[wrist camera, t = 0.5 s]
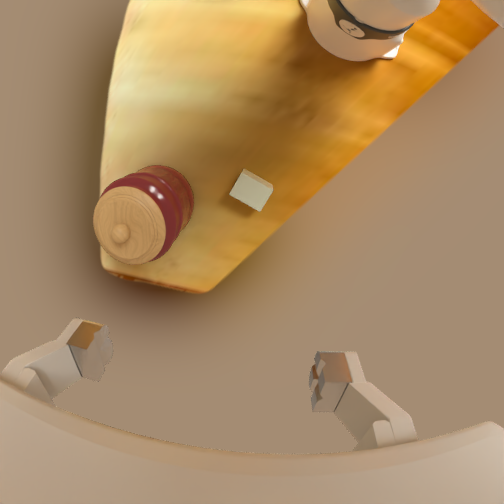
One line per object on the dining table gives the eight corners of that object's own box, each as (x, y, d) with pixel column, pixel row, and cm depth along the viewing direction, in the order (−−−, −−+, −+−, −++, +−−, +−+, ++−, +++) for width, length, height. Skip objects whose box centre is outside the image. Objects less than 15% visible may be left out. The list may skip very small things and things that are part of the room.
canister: (183, 243, 53) (150, 296, 37) (122, 219, 51) (71, 260, 35) (206, 178, 48) (175, 208, 32) (138, 154, 46) (83, 173, 30)
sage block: (243, 168, 47) (241, 172, 43) (272, 184, 48) (273, 190, 44) (232, 188, 48) (229, 194, 44) (260, 204, 49) (259, 211, 45)
